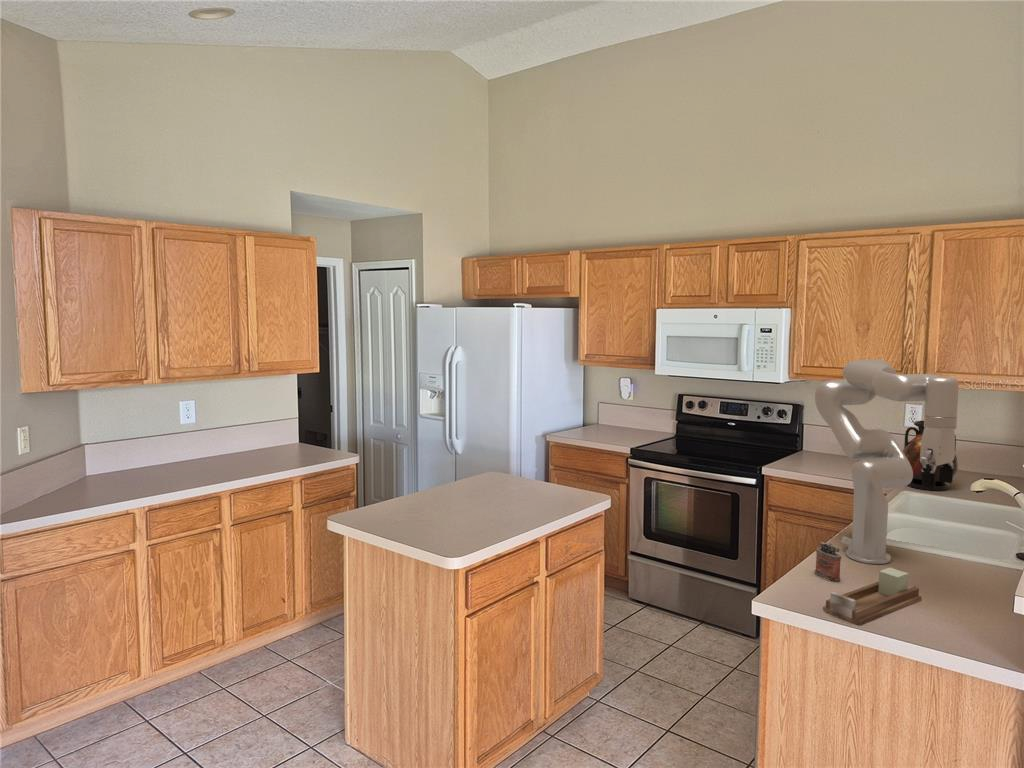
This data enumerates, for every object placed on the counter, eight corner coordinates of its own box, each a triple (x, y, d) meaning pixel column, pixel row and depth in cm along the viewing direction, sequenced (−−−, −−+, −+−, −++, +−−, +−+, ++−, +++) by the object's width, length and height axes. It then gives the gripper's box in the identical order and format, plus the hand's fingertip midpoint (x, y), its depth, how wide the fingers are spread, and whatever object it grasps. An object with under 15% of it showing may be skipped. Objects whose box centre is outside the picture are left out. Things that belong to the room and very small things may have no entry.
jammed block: (878, 592, 188) (879, 571, 188) (888, 588, 191) (890, 567, 190) (896, 599, 184) (897, 577, 183) (907, 594, 187) (908, 573, 186)
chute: (822, 610, 180) (823, 590, 179) (884, 587, 194) (885, 568, 194) (859, 625, 171) (860, 604, 171) (921, 600, 186) (922, 580, 185)
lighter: (812, 573, 205) (813, 540, 204) (820, 571, 206) (822, 538, 205) (834, 583, 197) (836, 549, 196) (843, 581, 199) (844, 547, 198)
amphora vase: (960, 485, 302) (964, 422, 299) (951, 496, 286) (956, 429, 282) (904, 477, 316) (908, 417, 312) (893, 487, 299) (897, 423, 296)
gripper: (940, 418, 196) (937, 477, 197) (909, 423, 186) (906, 486, 188) (970, 421, 190) (966, 482, 191) (939, 427, 180) (936, 492, 181)
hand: (937, 484), depth 189 cm, fingers open, 9 cm apart
